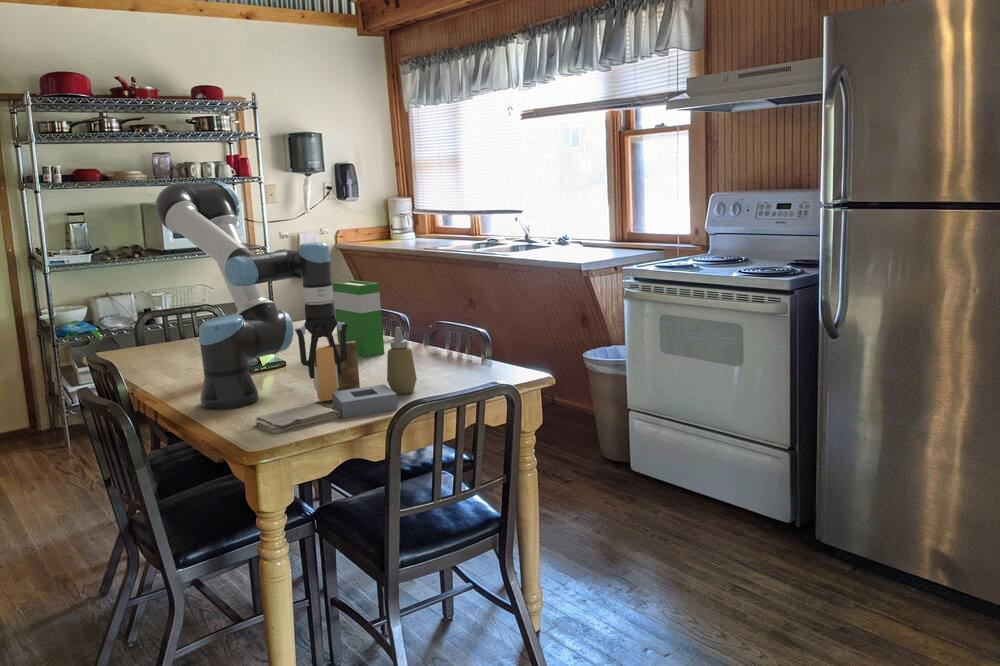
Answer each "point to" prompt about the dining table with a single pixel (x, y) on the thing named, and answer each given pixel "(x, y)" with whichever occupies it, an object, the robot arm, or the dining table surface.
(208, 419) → the dining table surface
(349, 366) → the brown wooden block
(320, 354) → the square peg
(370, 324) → the green cereal box
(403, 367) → the squeeze bottle
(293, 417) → the washcloth
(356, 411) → the socket block
